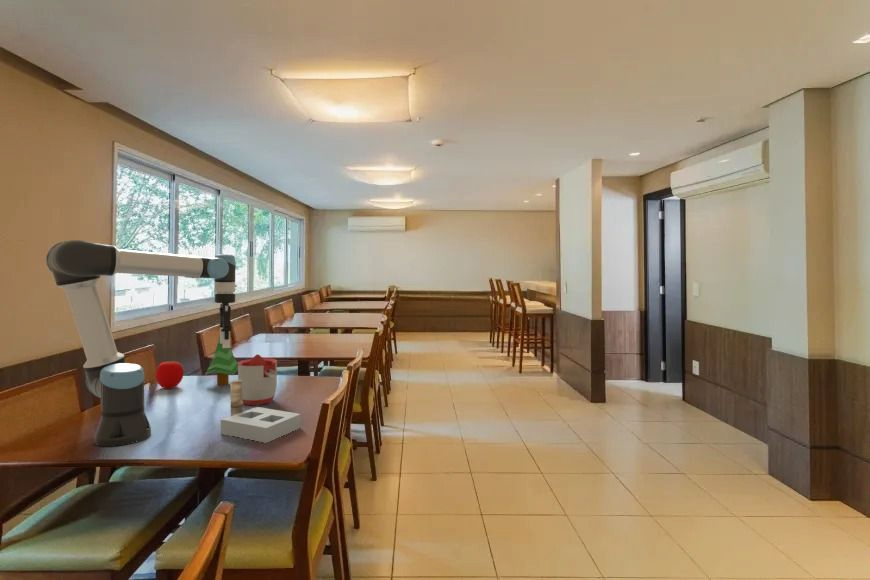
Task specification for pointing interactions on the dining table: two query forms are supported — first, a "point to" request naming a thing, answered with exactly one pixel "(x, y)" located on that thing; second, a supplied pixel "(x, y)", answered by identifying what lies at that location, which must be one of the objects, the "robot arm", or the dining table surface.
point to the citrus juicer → (258, 380)
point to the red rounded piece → (169, 374)
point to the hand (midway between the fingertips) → (224, 345)
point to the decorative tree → (223, 364)
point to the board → (260, 424)
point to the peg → (236, 397)
